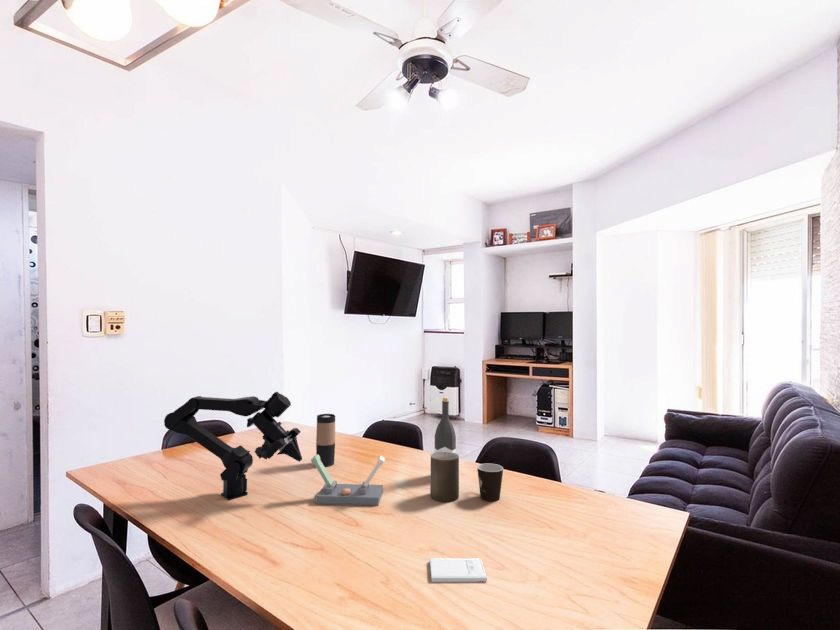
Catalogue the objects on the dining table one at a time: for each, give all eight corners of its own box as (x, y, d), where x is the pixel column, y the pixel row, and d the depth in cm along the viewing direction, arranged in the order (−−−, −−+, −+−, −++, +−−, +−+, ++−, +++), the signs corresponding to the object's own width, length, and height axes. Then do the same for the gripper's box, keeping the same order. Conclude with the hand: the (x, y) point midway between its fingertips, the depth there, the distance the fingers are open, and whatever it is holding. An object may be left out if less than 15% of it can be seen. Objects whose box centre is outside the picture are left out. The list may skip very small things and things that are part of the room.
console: (316, 503, 136) (316, 490, 136) (325, 490, 147) (325, 478, 147) (378, 505, 135) (378, 492, 135) (382, 492, 146) (382, 479, 146)
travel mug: (311, 465, 174) (312, 416, 174) (324, 460, 180) (325, 413, 181) (326, 468, 170) (327, 418, 171) (338, 463, 177) (339, 414, 178)
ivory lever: (358, 490, 138) (378, 458, 139) (361, 485, 143) (380, 454, 143) (364, 493, 138) (384, 462, 138) (366, 488, 143) (385, 458, 143)
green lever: (328, 492, 139) (309, 460, 139) (332, 487, 143) (313, 456, 144) (334, 489, 139) (315, 457, 139) (337, 484, 143) (318, 453, 144)
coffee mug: (503, 504, 137) (503, 472, 137) (476, 501, 139) (476, 470, 139) (503, 490, 148) (503, 461, 149) (478, 488, 150) (478, 460, 150)
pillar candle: (457, 503, 137) (457, 456, 137) (427, 500, 139) (428, 454, 139) (460, 492, 146) (460, 448, 147) (432, 489, 148) (433, 446, 149)
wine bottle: (455, 473, 165) (456, 396, 166) (455, 480, 157) (455, 399, 158) (435, 472, 166) (435, 395, 167) (433, 479, 158) (434, 399, 159)
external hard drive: (429, 564, 103) (480, 563, 103) (431, 584, 94) (487, 584, 95) (429, 557, 103) (480, 557, 103) (431, 577, 94) (487, 576, 95)
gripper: (263, 436, 152) (293, 468, 151) (239, 451, 133) (273, 487, 133) (285, 414, 152) (315, 446, 151) (264, 426, 133) (298, 462, 132)
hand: (301, 460), depth 142 cm, fingers closed
